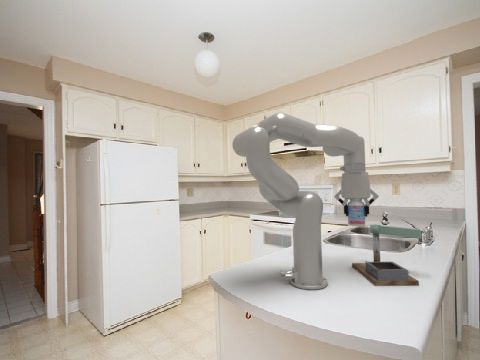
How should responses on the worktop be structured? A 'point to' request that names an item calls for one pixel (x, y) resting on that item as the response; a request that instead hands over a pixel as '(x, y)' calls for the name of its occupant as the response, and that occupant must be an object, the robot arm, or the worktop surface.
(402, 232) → the bar
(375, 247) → the post
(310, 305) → the worktop surface
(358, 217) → the pill bottle
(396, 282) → the walnut board
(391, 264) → the socket
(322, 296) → the worktop surface
